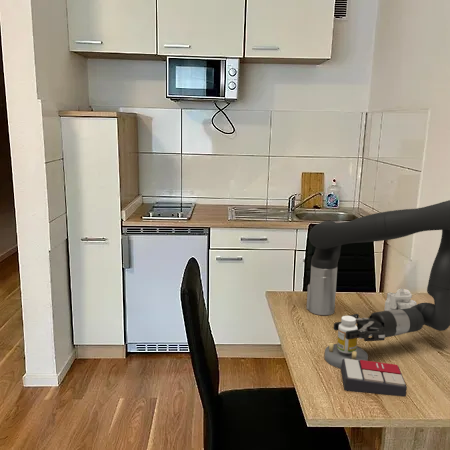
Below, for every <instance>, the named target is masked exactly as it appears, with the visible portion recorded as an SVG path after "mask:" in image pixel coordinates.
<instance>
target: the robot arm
mask: <svg viewBox="0 0 450 450" xmlns="http://www.w3.org/2000/svg"><path fill="white" fill-rule="evenodd" d="M428 231H430V232H431V231H441V239H440V244H439V246H438V249H437V253H436V254H435V255H436V256H435V258H434V261H433V263H432V265H431V270H430V273H429V277H428V283H427V287H426V293H427V294H428V295H429V296H430V297H432V298H433V302H434V303H431V302H419V303H418V304H416V305H415V306H413V307H411V308H407V309H400V310H387V311H384V310H382V311H381V310H380V311H376V312H375V311H374V312H373V313H371V314H370V316H368V317H362V318H361V317H359V316H360V315H359V313H354V314H351V315H349V316H352V317H355V318H356V324H355V325H356V326H357V328H358V330H351V331H347V332H346V336H345V338H346V339H354V338H357V339H359V340H363V341H364V342H377V341H378V342H379V341H385V339H386V338H390V337H396V336H401V335H403V334H408V333H414V332H418V331H420V330H421V329H422V328H423V327H424V325H425V326H427V327H428V328H431V329H434V330H436V331H439V332H442V331H443V332H444V331H446V330H448V329H449V328H450V199H449V200H446V201H442V202H439V203H435V204H431V205H428V206H422V207H417V208H407V209H406V208H405V209H397V210H396V209H395V210H387V211H383V212H376V213H372V214H369V215H368V214H367V215H364V216H361V217H357V218H355V219H352V220H348V221H345V222H335V221H334V220H324V221H322V222H319V223H317V224H315V225H313V227H312V228H311V229H310V231H309V234H308V239H309V242H310V244H311V245H312V246H313V247H315V249H314V253H313V255H312V257H311V262H310V281H309V283H308V285H307V292H306V310H308V311H309V312H310V313H312V314H314V315H319V316H331V315H333V314H334V313H335V308H336V295H337V279H338V262H339V260H340V256H341V249H342V246H343V245H348V244H355V243H360V244H361V243H371V242H372V243H373V242H381V241H388V240H389V241H390V240H396V239H400V238H405V237H408V236H411V235H413V234H418V233H422V232H428ZM339 324H341V321H337V322H333V330H334V331H336V332H338V327H339Z"/></svg>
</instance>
